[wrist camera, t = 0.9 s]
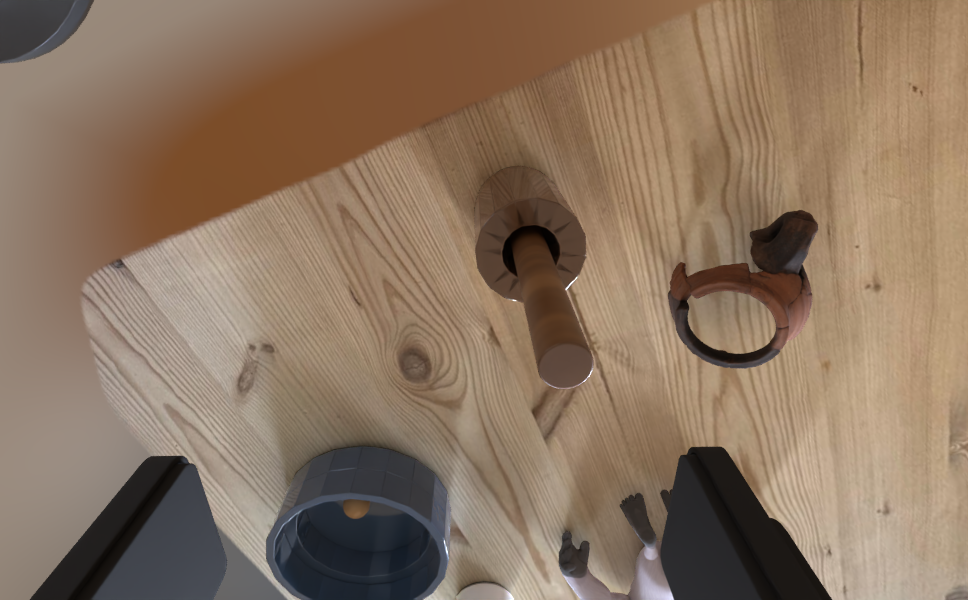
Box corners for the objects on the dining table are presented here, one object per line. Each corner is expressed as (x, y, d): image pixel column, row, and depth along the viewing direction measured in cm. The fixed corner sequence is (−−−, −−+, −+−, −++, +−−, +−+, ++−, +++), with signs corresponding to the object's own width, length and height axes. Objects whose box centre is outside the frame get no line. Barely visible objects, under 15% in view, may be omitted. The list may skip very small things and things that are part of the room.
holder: (469, 172, 35) (468, 206, 27) (557, 160, 35) (583, 191, 27) (480, 254, 38) (483, 308, 30) (563, 244, 38) (588, 295, 30)
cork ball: (343, 486, 47) (337, 507, 45) (368, 483, 47) (364, 504, 45) (349, 504, 48) (344, 526, 46) (374, 501, 48) (370, 523, 46)
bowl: (267, 452, 46) (240, 505, 40) (435, 432, 45) (430, 483, 40) (314, 565, 52) (296, 623, 47) (461, 549, 52) (460, 606, 46)
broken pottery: (774, 332, 42) (768, 399, 36) (663, 289, 45) (641, 344, 39) (863, 206, 34) (874, 264, 28) (722, 162, 37) (705, 207, 31)
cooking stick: (502, 199, 36) (535, 346, 18) (531, 195, 36) (593, 339, 18) (505, 226, 36) (540, 392, 18) (533, 222, 36) (595, 386, 18)
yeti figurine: (556, 480, 50) (556, 610, 59) (561, 537, 44) (560, 673, 53) (762, 481, 49) (731, 614, 57) (797, 540, 43) (757, 680, 51)
